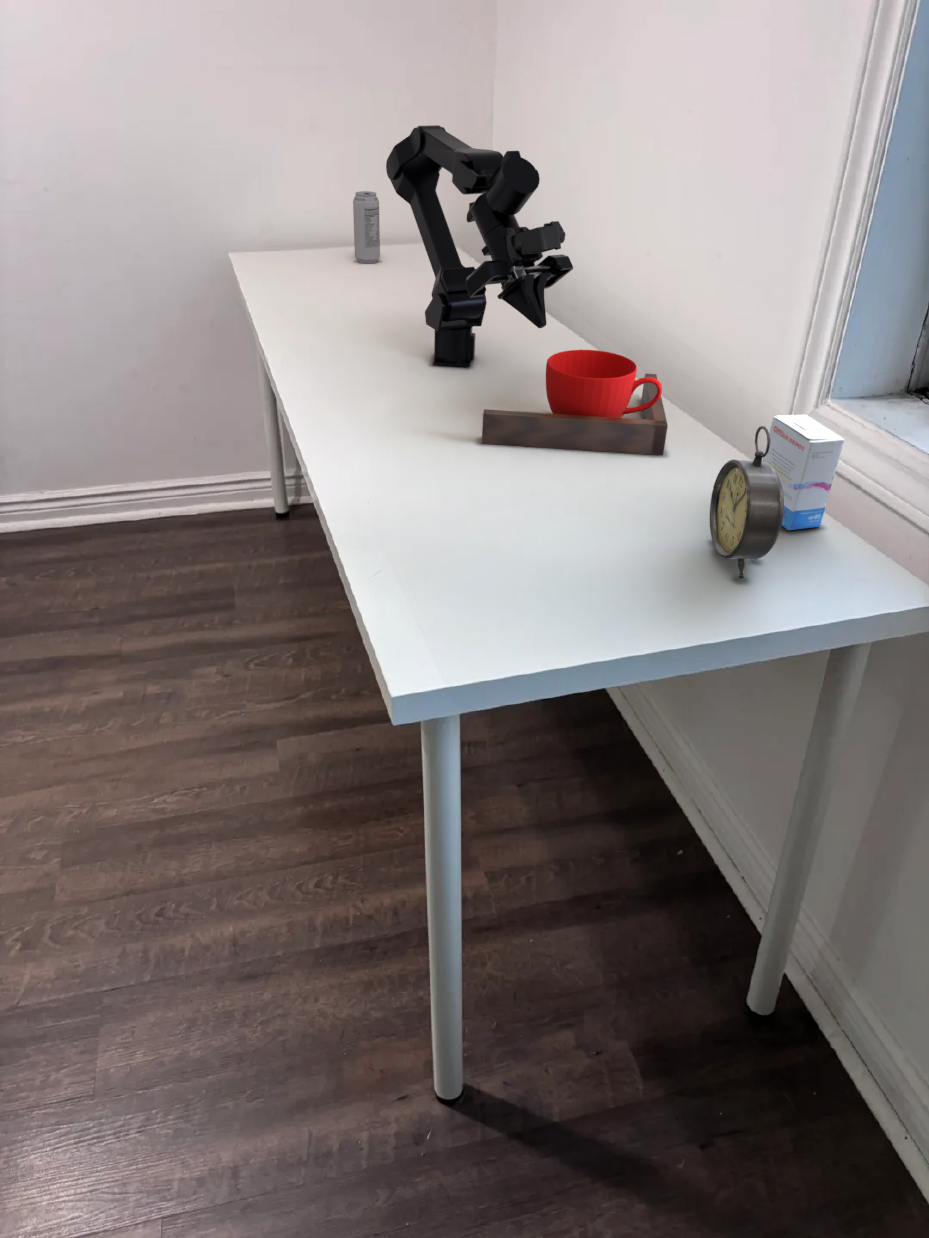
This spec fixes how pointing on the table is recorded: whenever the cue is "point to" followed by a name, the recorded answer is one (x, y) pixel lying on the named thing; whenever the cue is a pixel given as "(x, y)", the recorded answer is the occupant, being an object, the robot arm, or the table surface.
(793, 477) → the ink box
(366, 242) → the energy drink can
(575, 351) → the ceramic cup
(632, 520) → the table surface
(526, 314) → the robot arm
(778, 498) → the alarm clock
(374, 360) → the table surface
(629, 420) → the corner guide
